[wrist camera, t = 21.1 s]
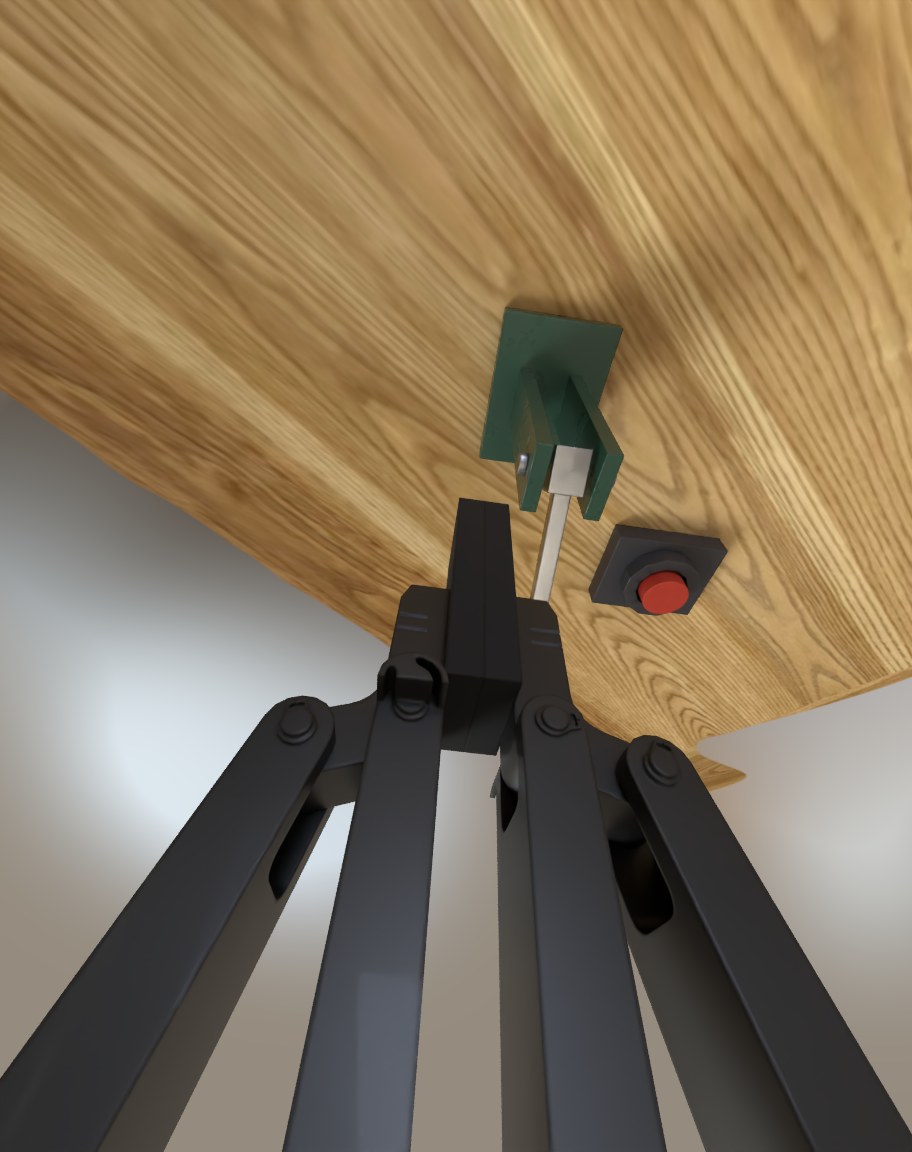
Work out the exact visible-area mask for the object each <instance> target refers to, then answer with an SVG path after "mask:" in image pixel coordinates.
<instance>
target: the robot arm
mask: <svg viewBox="0 0 912 1152" xmlns="http://www.w3.org/2000/svg"><path fill="white" fill-rule="evenodd" d="M559 633H560V631H559V625H558V619H557V615H556V614H555V612H554V611H553V609H552V608H551V607H550V605H549V604H548V602H547V601H543V600H536V599H528V598H520V597H516V590H515V577H514V565H513V552H512V539H511V526H510V514H509V505H508V504H501V503H494V502H487V501H480V500H473V499H465V498H459V504H458V510H457V517H456V523H455V529H454V536H453V542H452V549H451V555H450V561H449V568H448V578H447V588H446V589H442V588H435V587H427V586H419V585H411V586H410V587H409V588H408V590H407V591H406V592H405V593H404V594H403V595H402V596H401V600H400V604H399V609H398V615H397V619H396V624H395V628H394V633H393V638H392V643H391V648H390V652H389V658H388V660H387V661H386V662H384V663H383V664H382V666H381V668H380V671H379V673H378V677H377V690H376V691H375V692H373V693H372V694H371V695H370V696H368V697H366V698H365V699H362V700H360V701H357V702H353V703H350V704H345V705H338V706H333V707H329V706H328V705H327V704H326V703H324V702H323V701H321V700H319V699H318V698H315V697H309V696H298V697H291V698H287V699H286V700H283V701H281V702H280V703H277V704H275V705H274V706H273V707H272V708H271V709H270V710H269V711H268V712H267V713H266V714H265V716H264V717H263V718H262V719H261V721H260V722H259V724H258V725H257V726H256V728H255V729H254V730H253V732H252V733H251V735H250V736H249V737H248V739H247V740H246V741H245V743H244V744H243V746H242V747H241V748H240V750H239V751H238V752H237V754H236V755H235V757H234V758H233V759H232V761H231V762H230V763H229V765H228V766H227V768H226V769H225V770H224V772H223V773H222V775H221V776H220V777H219V779H218V780H217V781H216V783H215V784H214V785H213V787H212V788H211V790H210V791H209V793H208V794H207V795H206V796H205V798H204V799H203V801H202V802H201V803H200V805H199V806H198V807H197V809H196V810H195V812H194V813H193V814H192V816H191V817H190V818H189V820H188V821H187V823H186V824H185V825H184V827H183V828H182V829H181V831H180V832H179V834H178V835H177V836H176V838H175V839H174V840H173V842H172V843H171V845H170V846H169V848H168V849H167V850H166V851H165V853H164V854H163V856H162V857H161V858H160V860H159V861H158V863H157V864H156V865H155V867H154V868H153V869H152V871H151V872H150V873H149V875H148V876H147V878H146V879H145V881H144V882H143V883H142V884H141V886H140V887H139V889H138V890H137V891H136V893H135V894H134V895H133V897H132V898H131V900H130V901H129V903H128V904H127V905H126V906H125V908H124V909H123V911H122V912H121V913H120V915H119V916H118V917H117V919H116V920H115V922H114V923H113V925H112V926H111V927H110V928H109V930H108V931H107V933H106V934H105V935H104V937H103V938H102V939H101V941H100V942H99V944H98V945H97V946H96V948H95V949H94V950H93V952H92V953H91V955H90V956H89V957H88V959H87V960H86V962H85V963H84V964H83V966H82V967H81V968H80V970H79V971H78V973H77V974H76V975H75V977H74V978H73V979H72V981H71V982H70V983H69V985H68V986H67V988H66V989H65V990H64V992H63V993H62V994H61V996H60V997H59V999H58V1000H57V1001H56V1003H55V1004H54V1005H53V1007H52V1008H51V1010H50V1011H49V1012H48V1014H47V1015H46V1016H45V1018H44V1019H43V1021H42V1022H41V1023H40V1025H39V1026H38V1027H37V1029H36V1031H35V1032H34V1033H33V1034H32V1036H31V1037H30V1038H29V1040H28V1041H27V1043H26V1044H25V1045H24V1047H23V1048H22V1050H21V1051H20V1052H19V1054H18V1055H17V1056H16V1058H15V1059H14V1060H13V1062H12V1063H11V1065H10V1066H9V1067H8V1069H7V1070H6V1071H5V1073H4V1074H3V1076H2V1077H1V1078H0V1152H164V1150H165V1148H166V1146H167V1144H168V1142H169V1139H170V1137H171V1135H172V1133H173V1131H174V1129H175V1127H176V1125H177V1123H178V1121H179V1119H180V1117H181V1115H182V1113H183V1111H184V1109H185V1107H186V1105H187V1103H188V1101H189V1099H190V1097H191V1095H192V1093H193V1091H194V1089H195V1087H196V1085H197V1083H198V1081H199V1079H200V1077H201V1075H202V1073H203V1071H204V1069H205V1067H206V1065H207V1063H208V1061H209V1058H210V1057H211V1055H212V1053H213V1051H214V1048H215V1047H216V1044H217V1043H218V1041H219V1038H220V1037H221V1035H222V1033H223V1030H224V1028H225V1026H226V1024H227V1022H228V1020H229V1018H230V1016H231V1014H232V1012H233V1010H234V1008H235V1006H236V1004H237V1002H238V1000H239V998H240V996H241V994H242V992H243V990H244V988H245V986H246V984H247V982H248V980H249V978H250V976H251V974H252V972H253V970H254V968H255V966H256V964H257V962H258V960H259V958H260V956H261V954H262V952H263V950H264V948H265V946H266V944H267V941H268V939H269V938H270V935H271V934H272V932H273V930H274V927H275V925H276V923H277V921H278V919H279V917H280V915H281V913H282V911H283V909H284V907H285V905H286V903H287V901H288V899H289V897H290V895H291V893H292V891H293V889H294V887H295V885H296V883H297V881H298V879H299V877H300V875H301V873H302V871H303V869H304V867H305V865H306V863H307V861H308V859H309V857H310V855H311V853H312V851H313V849H314V847H315V845H316V842H317V841H318V839H319V837H320V835H321V833H322V831H323V828H324V827H325V825H326V822H327V821H328V819H329V817H330V814H331V812H332V810H333V808H334V806H338V805H342V804H346V803H350V802H354V801H355V806H354V811H353V816H352V821H351V825H350V830H349V835H348V840H347V844H346V849H345V854H344V859H343V863H342V869H341V873H340V878H339V883H338V887H337V892H336V897H335V902H334V907H333V911H332V916H331V921H330V925H329V930H328V935H327V940H326V944H325V949H324V954H323V959H322V963H321V969H320V973H319V979H318V983H317V987H316V992H315V997H314V1002H313V1006H312V1011H311V1016H310V1021H309V1026H308V1030H307V1035H306V1040H305V1045H304V1049H303V1054H302V1059H301V1064H300V1068H299V1074H298V1078H297V1083H296V1087H295V1092H294V1097H293V1102H292V1107H291V1111H290V1116H289V1121H288V1125H287V1131H286V1135H285V1140H284V1144H283V1150H282V1152H410V1147H411V1135H412V1122H413V1109H414V1095H415V1081H416V1068H417V1056H418V1041H419V1030H420V1017H421V1016H420V1015H421V1003H422V989H423V977H424V964H425V951H426V937H427V923H428V911H429V898H430V884H431V871H432V857H433V845H434V844H433V843H434V831H435V819H436V818H435V817H436V806H437V791H438V779H439V766H440V753H441V749H442V750H451V751H459V752H468V753H478V754H486V755H495V756H496V755H497V752H498V749H499V746H500V758H501V765H500V767H499V770H498V773H497V775H496V778H495V780H494V783H493V786H492V789H491V794H490V797H491V798H495V796H496V798H497V799H496V802H497V803H496V804H497V859H498V860H497V862H498V920H499V976H500V977H499V979H500V1031H501V1032H500V1036H501V1095H502V1152H667V1150H666V1144H665V1139H664V1134H663V1128H662V1123H661V1118H660V1113H659V1107H658V1102H657V1097H656V1092H655V1086H654V1081H653V1075H652V1070H651V1065H650V1059H649V1054H648V1049H647V1044H646V1038H645V1033H644V1028H643V1023H642V1017H641V1012H640V1007H639V1001H638V996H637V991H636V986H635V980H634V975H633V970H632V965H631V959H630V954H629V949H628V944H629V947H630V949H631V952H632V955H633V957H634V960H635V963H636V966H637V968H638V971H639V974H640V976H641V979H642V982H643V984H644V987H645V990H646V992H647V995H648V998H649V1000H650V1003H651V1006H652V1009H653V1011H654V1014H655V1016H656V1019H657V1022H658V1024H659V1027H660V1030H661V1033H662V1035H663V1038H664V1041H665V1043H666V1046H667V1049H668V1051H669V1054H670V1057H671V1059H672V1062H673V1064H674V1067H675V1070H676V1073H677V1075H678V1078H679V1081H680V1083H681V1086H682V1089H683V1091H684V1094H685V1097H686V1099H687V1102H688V1105H689V1108H690V1110H691V1113H692V1116H693V1118H694V1121H695V1124H696V1126H697V1129H698V1132H699V1134H700V1137H701V1140H702V1142H703V1145H704V1148H705V1150H706V1152H912V1134H911V1132H910V1130H909V1129H908V1127H907V1125H906V1124H905V1122H904V1120H903V1119H902V1117H901V1115H900V1113H899V1112H898V1110H897V1108H896V1107H895V1105H894V1103H893V1102H892V1100H891V1098H890V1097H889V1095H888V1093H887V1092H886V1090H885V1088H884V1086H883V1085H882V1083H881V1081H880V1080H879V1078H878V1076H877V1075H876V1073H875V1071H874V1070H873V1068H872V1066H871V1065H870V1063H869V1061H868V1060H867V1058H866V1056H865V1054H864V1053H863V1051H862V1049H861V1048H860V1046H859V1044H858V1043H857V1041H856V1039H855V1038H854V1036H853V1034H852V1033H851V1031H850V1029H849V1028H848V1026H847V1024H846V1022H845V1021H844V1019H843V1017H842V1016H841V1014H840V1012H839V1011H838V1009H837V1007H836V1006H835V1004H834V1002H833V1001H832V999H831V997H830V996H829V994H828V992H827V990H826V989H825V987H824V986H823V984H822V982H821V980H820V979H819V977H818V975H817V974H816V972H815V970H814V969H813V967H812V965H811V964H810V962H809V960H808V959H807V957H806V955H805V954H804V952H803V950H802V948H801V947H800V945H799V943H798V942H797V940H796V938H795V937H794V935H793V933H792V932H791V930H790V928H789V927H788V925H787V923H786V921H785V920H784V918H783V916H782V915H781V913H780V911H779V910H778V908H777V906H776V905H775V903H774V901H773V900H772V898H771V896H770V895H769V893H768V891H767V889H766V888H765V886H764V885H763V883H762V881H761V879H760V878H759V876H758V874H757V873H756V871H755V869H754V868H753V866H752V864H751V863H750V861H749V859H748V857H747V856H746V854H745V852H744V851H743V849H742V847H741V846H740V844H739V843H738V841H737V839H736V837H735V836H734V834H733V833H732V831H731V829H730V827H729V825H728V824H727V822H726V821H725V819H724V817H723V815H722V814H721V812H720V810H719V809H718V807H717V805H716V804H715V802H714V800H713V799H712V797H711V795H710V794H709V792H708V790H707V788H706V787H705V785H704V783H703V782H702V780H701V778H700V777H699V775H698V773H697V772H696V770H695V768H694V767H693V765H692V763H691V762H690V761H689V759H688V758H687V757H686V755H685V754H684V753H683V752H682V751H681V750H680V749H679V748H677V747H676V746H675V745H674V744H672V743H671V742H670V741H667V740H665V739H662V738H660V737H658V736H650V735H643V736H640V737H637V738H634V739H633V740H632V742H631V743H628V742H626V741H623V740H621V739H619V738H616V737H614V736H611V735H609V734H607V733H604V732H602V731H600V730H598V729H597V728H595V727H593V726H592V725H591V724H589V723H588V722H587V721H585V720H584V718H583V716H582V714H581V713H580V711H579V710H578V709H577V708H576V707H575V706H574V704H573V702H572V698H571V695H570V689H569V683H568V677H567V671H566V666H565V660H564V654H563V648H562V642H561V637H560V635H559ZM627 942H628V943H627Z"/></svg>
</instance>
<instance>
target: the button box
mask: <svg viewBox="0 0 912 1152" xmlns="http://www.w3.org/2000/svg"><path fill="white" fill-rule="evenodd" d="M727 552H728V551H727V549H726V548H725V546H724V545H723V543H722V542H721V540H720V539H717V538H710V537H702V536H695V535H688V534H681V533H674V532H667V531H660V530H652V529H645V528H638V527H631V526H624V525H616V526H615V528H614V531H613V533H612V535H611V538H610V540H609V543H608V545H607V547H606V550H605V552H604V554H603V557H602V559H601V561H600V564H599V566H598V569H597V571H596V573H595V576H594V578H593V580H592V583H591V585H590V587H589V593H590V597H591V600H592V602H594V603H601V604H609V605H617V606H624V607H630V608H632V609H633V610H634V611H636V612H637V613H640V614H648V615H655V616H657V615H662V614H655V613H651V612H649V611H648V610H646V609H645V608H644V606H643V604H642V601H641V599H640V596H639V593H638V588H639V585H640V583H641V582H642V581H643V580H644V579H645V578H646V577H647V576H649V575H651V574H653V573H656V572H660V571H672V572H675V573H677V574H679V575H680V576H681V577H682V579H683V581H684V583H685V585H686V587H687V589H688V592H689V596H688V599H687V601H686V603H685V604H684V605H683V606H682V607H680V608H679V609H677V610H675V611H673V612H670V613H677V614H685V615H688V613H689V612H690V610H691V609H692V607H693V605H694V604H695V602H696V601H697V599H698V598H699V596H700V594H701V593H702V591H703V590H704V588H705V587H706V585H707V583H708V582H709V580H710V579H711V577H712V576H713V574H714V573H715V571H716V569H717V568H718V566H719V565H720V563H721V562H722V560H723V558H724V557H725V555H726V554H727Z"/></svg>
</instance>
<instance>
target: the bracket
mask: <svg viewBox="0 0 912 1152" xmlns="http://www.w3.org/2000/svg"><path fill="white" fill-rule="evenodd" d="M622 330H623V328H622V327H621V326H620V325H616V324H610V323H603V322H597V321H591V320H585V319H579V318H572V317H566V316H560V315H554V314H548V313H541V312H535V311H529V310H523V309H516V308H510V307H505V311H504V316H503V322H502V328H501V333H500V339H499V345H498V350H497V356H496V362H495V368H494V373H493V379H492V385H491V390H490V396H489V402H488V407H487V413H486V419H485V425H484V430H483V436H482V442H481V447H480V458H482V459H489V460H496V461H503V462H510V463H515V473H516V480H517V489H518V498H519V507H520V510H522V511H530V512H536V509H537V505H538V502H539V498H540V495H541V491H542V488H543V484H544V480H545V477H546V473H547V470H548V466H549V463H550V459H551V456H552V452H553V449H554V445H563V446H570V447H576V448H583V449H590V450H593V455H592V459H591V464H590V468H589V473H588V478H587V482H586V487H585V491H584V496H583V498H582V497H577V500H578V503H579V506H580V509H581V513H582V516H583V519H587V520H594V521H599V519H600V517H601V514H602V512H603V509H604V507H605V504H606V501H607V499H608V496H609V494H610V491H611V489H612V487H613V486H614V484H615V481H616V478H617V473H618V471H619V468H620V466H621V463H622V461H623V458H624V454H623V452H622V451H621V449H620V447H619V445H618V443H617V441H616V439H615V438H614V436H613V434H612V432H611V430H610V428H609V426H608V425H607V423H606V421H605V419H604V417H603V415H602V413H601V411H600V410H599V408H598V404H599V401H600V398H601V395H602V391H603V388H604V385H605V382H606V379H607V376H608V373H609V370H610V367H611V364H612V361H613V358H614V355H615V352H616V349H617V346H618V343H619V340H620V337H621V334H622Z"/></svg>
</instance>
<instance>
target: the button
mask: <svg viewBox="0 0 912 1152" xmlns="http://www.w3.org/2000/svg"><path fill="white" fill-rule="evenodd" d="M638 593H639V596H640V599H641V601H642V604H643V606H644V608H645V609H646V610H648V611H649V612H651V613H655V614H666V613H670V612H673V611H675V610H677V609H679V608H680V607H682V606H683V605H684V604H685V603H686V601H687V599H688V596H689V592H688V589H687V587H686V585H685V583H684V581H683V579H682V577H681V576H680V575H679V574H677V573H675V572H672V571H660V572H656V573H653V574H651V575H649V576H647V577H646V578H645V579H644V580H643V581H642V582H641V583H640V585H639V588H638Z"/></svg>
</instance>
